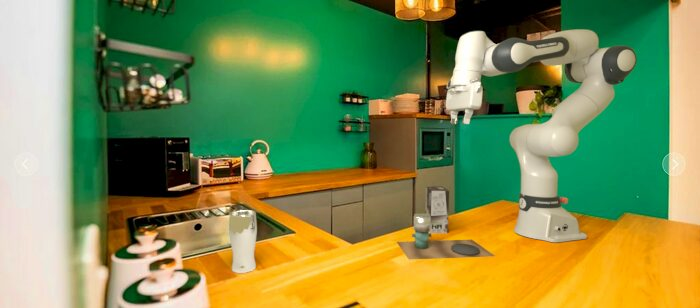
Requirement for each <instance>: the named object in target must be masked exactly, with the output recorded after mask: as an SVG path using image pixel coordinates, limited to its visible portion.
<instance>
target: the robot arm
mask: <svg viewBox="0 0 700 308" xmlns="http://www.w3.org/2000/svg"><path fill="white" fill-rule="evenodd" d="M599 42H600V41H599V37H598V34H597V33H596V32H595V31H594V30H590V29H583V28H582V29H580V28H579V29H577V28H576V29H568V30H560V31H556V32H554V33H551V34H547V35H546V36H543V37H542V38H541V39H536V40H527V39H523V38H520V37H510V38H506V39H505V40H503V41H501V42H500V43H499V42H498V43H497V44H496V43H494V42H493V40H491V39H490V38H489V37H488V36H487V34H486V32H485V31H483V30H472V31H468V32H465V33H463V34H462V35H461V36H460V37H459V40H458V43H457V47H456V51H455V57H454V61H455V64H454V66H455V67H454V68H453V72H452V76H451V78H450V80H449V81H448V82H447V83H446V89H447V93H446V98H445V109H446V111H449V112H450V119H451V120H450V123H451V125H457V124H458V121H459V119H458V114H459V112H461V111H462V112H463V111H464V117H462V121H461V123H462V124H463V125H469V124H470V122H471V118H472V116H473V114H474V110H480V109H481V107H482V103H483V93H484V90H483V89H484V88H483V86H482V82H481V78H482V76H485V77H494V76H500V75H504V74H509V73H510V74H511V73H517V72H519V71H521V70H523V69H524V68H526V67H527V66H529V65H531V64H532V63H536V62H540V63H541V64H542V65H544V66H548V67H549V66H551V67H552V66H554V67H555V66H561V65H564V73H565V77H566V79H567V80H568V81H570V82H571V83H573V84H574V83H575V84H581V85H580V86H579V88H578V89H576V90H575V91H574V92H573V93H571V94H569V96H567V97H566V98H565V99H563V100H562V101H561V102H560V103H558V104H557V105H556V106H555V107H554V108H553V109H552V110H551V111H552V112H551V114H552V115H551V118H550V119H549V120H547V121H546V122H543V123H529V124H527V123H526V124H523V125H521V126H518V127H515V128H514V129H513V130H512V131H511V133H510V134H509V144H510V146H511V147H512V149H513V150H514V152H515V153H516V157H517V159H518V162H519V168H520V192H519V194H518V195H519V196H518V207H519V208H518V210H519V211H518V215H517V220H516V224H515V227H514V229H513V231H514V233H516V234H518V235H520V236H522V237H526V238H529V239H535V240H539V241H546V242H551V243H564V242H571V241H572V242H573V241H579V240H586V239H588V235H587V234H586V233H584V232H583V231H580V227H579V221H578V219H577V218H576V217H575V216H574V215H572V214H571V213H570V212H568V210H566V209H565V208H564V207H562V204H561V203H563V204H564V205H566V204H568V201H569V199H568V198H567V197H563V196H561V197H559V196H558V178H559V175H558V172H557V170H555V168H554V167H553V166H552V163H551V162H550V159H549V157H553V158H554V157H555V158H557V157H563V156H568V155H571V154H572V153H573V152H574V151H576V149H577V147H578V146H579V132H580V131H581V130H582V129H583V128H584V127H585V126H587V125H588V124H589V123H590V122H592V121H593V120H594V119H595V118H597V117H598V116H599V115H600V114H601V113H602V112H603V111H605V109H606V108H607V107H608V106H609V105H610V103H611V102H612V101H613V100H614V98H615V89H614V86H616V85H620V84H621V83H623V82H624V81H625V79H626V77H628V76H629V75H630V74H631V73H632V72H633V70H634V69H635V67H636V64H637V54H636V51H635V50H634V49H633V48H632V47H631V46H628V45H613V46H609V47H603V48H600V47H599Z"/></svg>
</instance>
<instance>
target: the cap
mask: <svg viewBox="0 0 700 308" xmlns="http://www.w3.org/2000/svg"><path fill="white" fill-rule="evenodd" d="M430 222H431V217H430V214H429V213H426V214H425V213H414V215H413V230H414V232H415V231H418V232H429V231H430ZM429 233H430V232H429Z"/></svg>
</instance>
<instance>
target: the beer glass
mask: <svg viewBox="0 0 700 308" xmlns="http://www.w3.org/2000/svg"><path fill="white" fill-rule="evenodd" d="M256 214H257V212H256V211H255V210H252V209H240V210H239V209H238V210H233V211H231V212H229V221H228V234H229V241H230V246H231V250H232V264H231V271H232V272H233V273H235V274H246V273H247V274H248V273H250V272H253V271H254V270H255V269H256V267H257V265H256V260H255V249H256V243H257V242H256V241H257V234H258V225H257V224H258V223H257V215H256Z"/></svg>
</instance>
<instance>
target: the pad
mask: <svg viewBox="0 0 700 308" xmlns="http://www.w3.org/2000/svg"><path fill="white" fill-rule="evenodd" d="M451 250H452V251H453V252H455V253H457V254H461V255H468V256H473V255H478V254H479V253H480V249H479V248H477V247H475V246H473V245H469V244H454V245H452V246H451Z"/></svg>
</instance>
